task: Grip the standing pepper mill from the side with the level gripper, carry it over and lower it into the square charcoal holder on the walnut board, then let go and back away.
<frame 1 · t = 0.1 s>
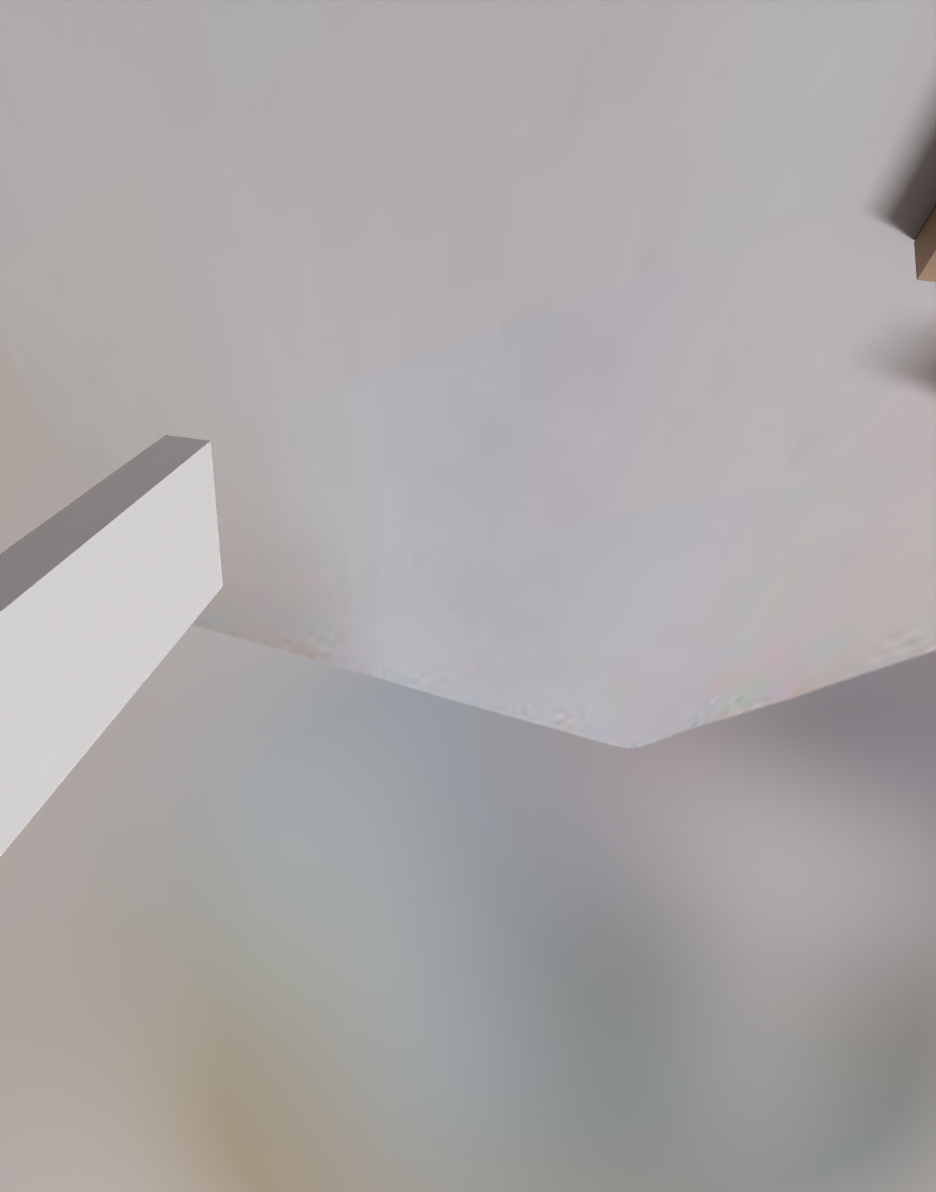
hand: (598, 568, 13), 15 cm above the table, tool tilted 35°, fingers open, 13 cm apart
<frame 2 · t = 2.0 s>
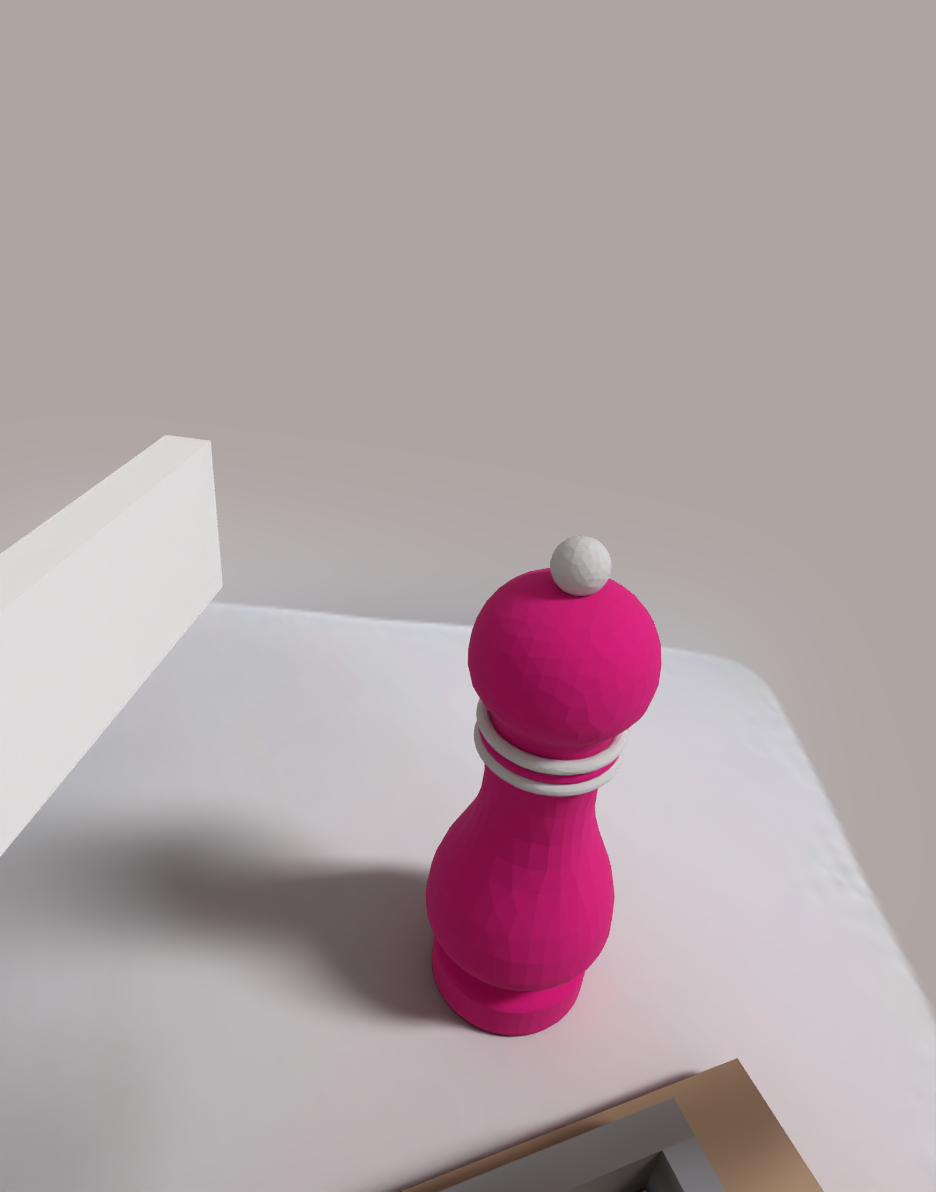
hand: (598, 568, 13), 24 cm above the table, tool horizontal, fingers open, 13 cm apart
pepper mill: (506, 966, 34), on the table
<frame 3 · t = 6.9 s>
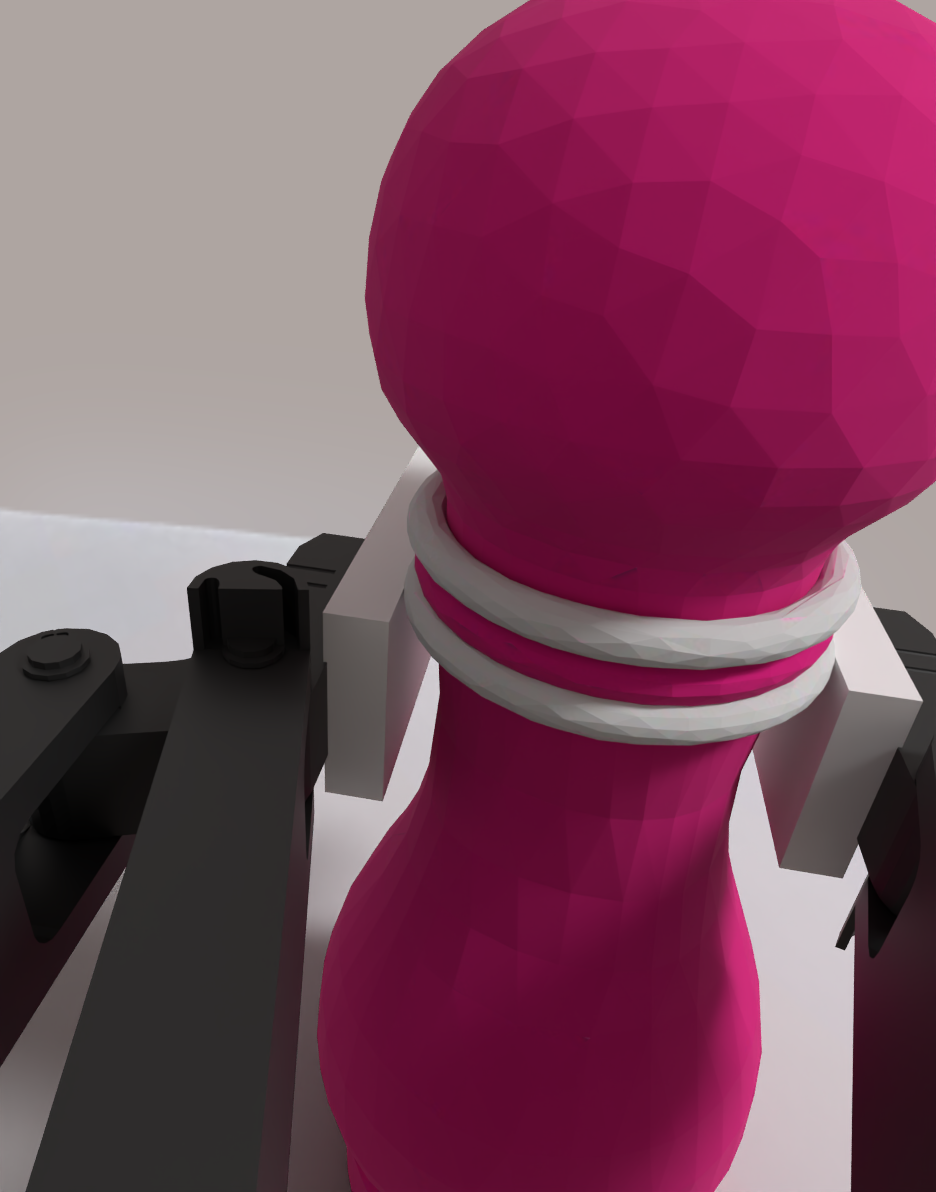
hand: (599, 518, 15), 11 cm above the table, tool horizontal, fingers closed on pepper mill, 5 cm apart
pepper mill: (506, 1143, 16), on the table, touching gripper
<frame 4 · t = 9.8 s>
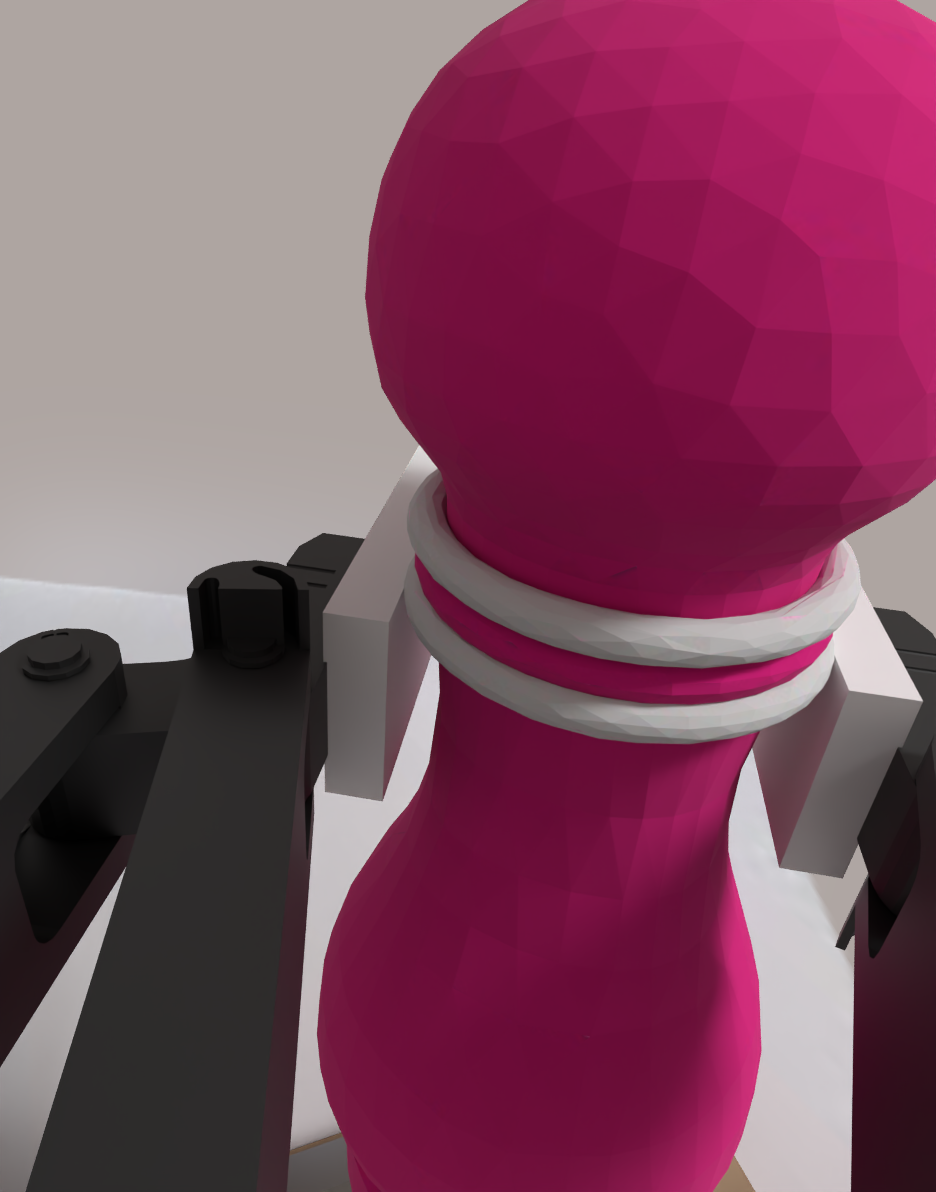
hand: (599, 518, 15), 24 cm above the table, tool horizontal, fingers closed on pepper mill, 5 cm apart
pepper mill: (506, 1142, 16), point 13 cm above the table, touching gripper
when the fingers open (13 cm above the table, at t = 12.8 s): pepper mill stays where it is, resting on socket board.
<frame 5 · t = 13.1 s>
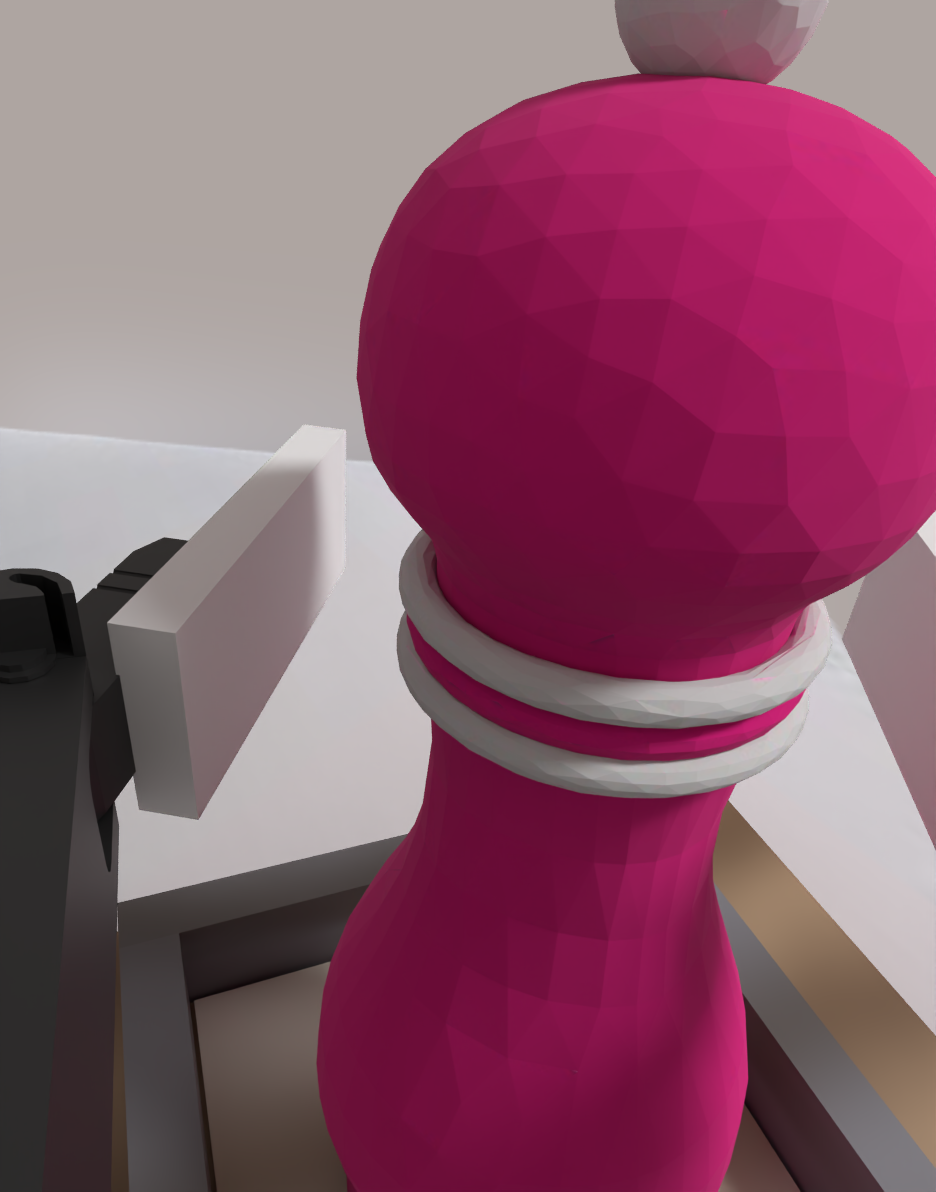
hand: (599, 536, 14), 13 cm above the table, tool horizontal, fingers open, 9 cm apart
pepper mill: (503, 1165, 17), point 2 cm above the table, touching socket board
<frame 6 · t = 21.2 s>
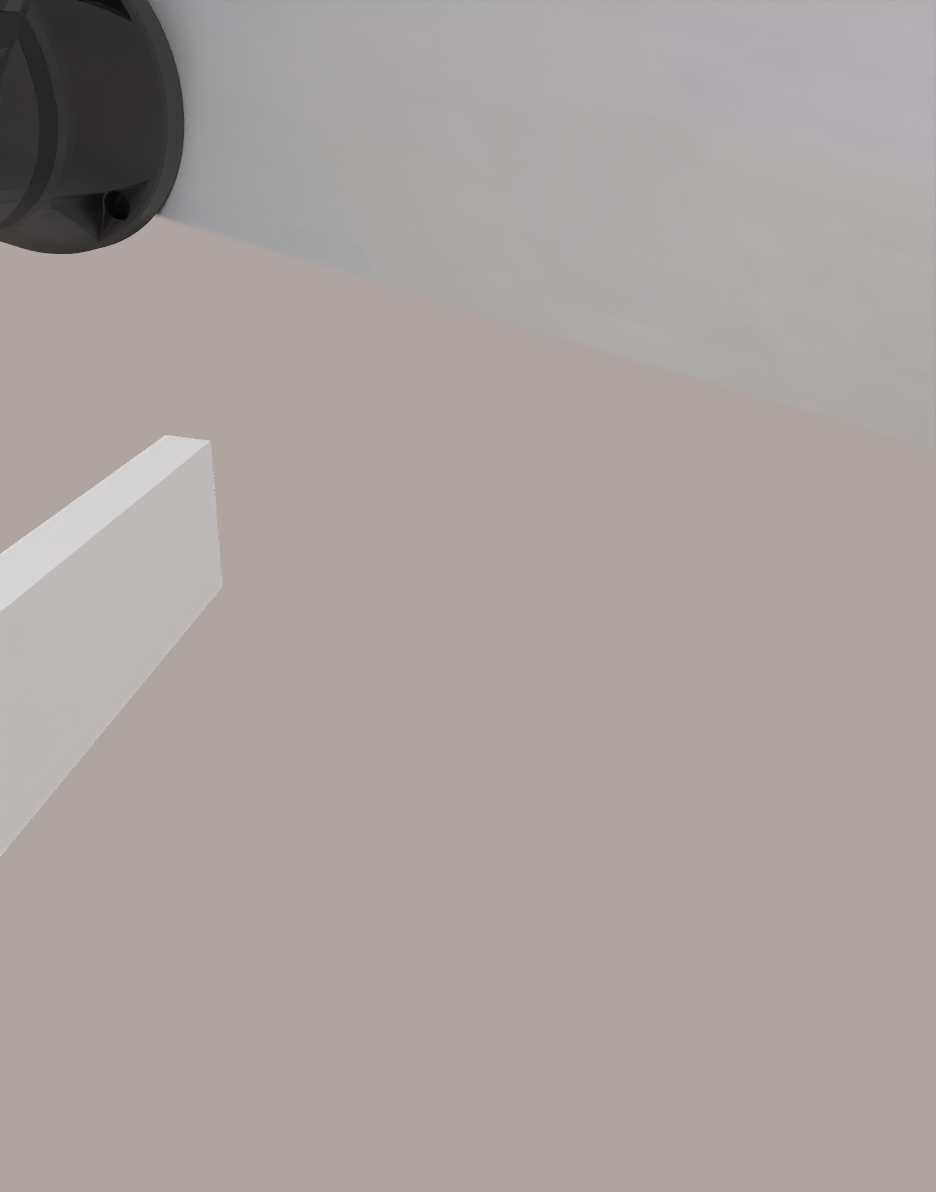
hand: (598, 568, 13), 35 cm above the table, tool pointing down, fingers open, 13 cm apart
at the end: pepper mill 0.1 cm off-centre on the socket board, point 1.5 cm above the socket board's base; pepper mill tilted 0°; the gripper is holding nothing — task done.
